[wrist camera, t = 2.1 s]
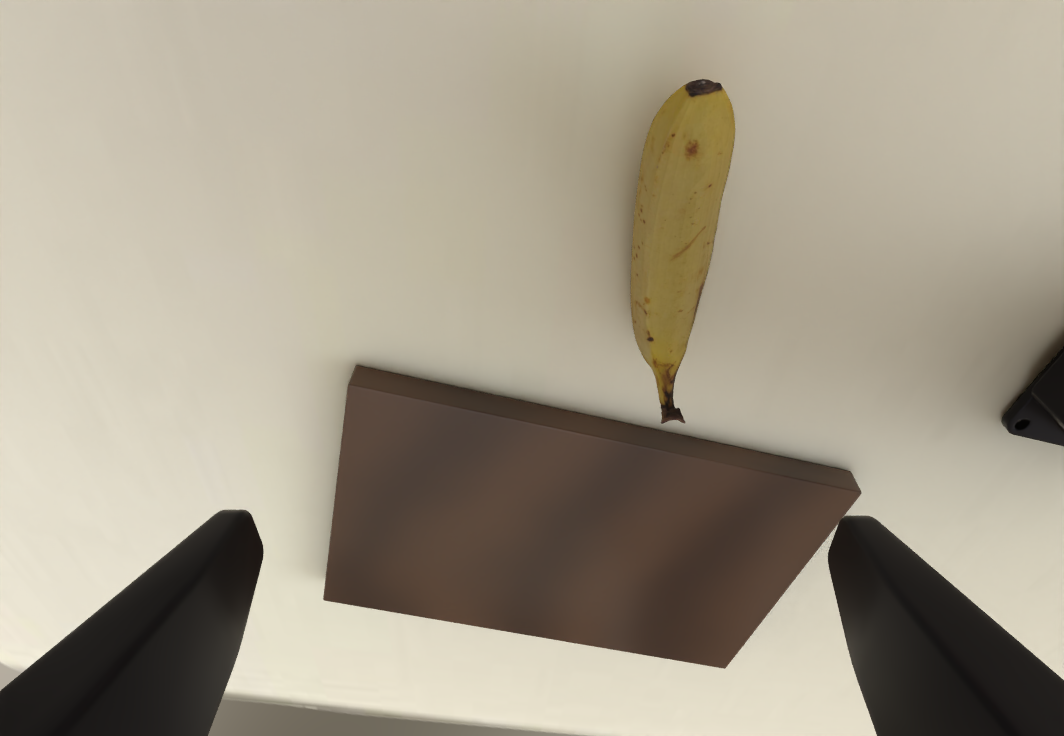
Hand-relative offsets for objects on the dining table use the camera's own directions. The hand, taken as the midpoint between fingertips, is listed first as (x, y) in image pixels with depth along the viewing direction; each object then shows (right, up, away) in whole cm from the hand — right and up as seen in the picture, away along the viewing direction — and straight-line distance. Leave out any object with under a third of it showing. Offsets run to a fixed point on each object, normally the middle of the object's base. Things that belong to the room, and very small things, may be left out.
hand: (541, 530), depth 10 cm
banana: (+4, +7, +11) cm, 14 cm away
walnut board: (+1, -5, +19) cm, 20 cm away
